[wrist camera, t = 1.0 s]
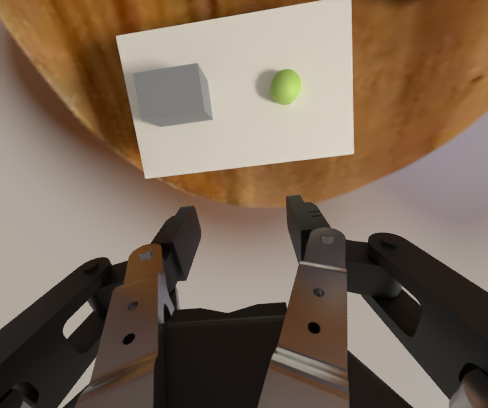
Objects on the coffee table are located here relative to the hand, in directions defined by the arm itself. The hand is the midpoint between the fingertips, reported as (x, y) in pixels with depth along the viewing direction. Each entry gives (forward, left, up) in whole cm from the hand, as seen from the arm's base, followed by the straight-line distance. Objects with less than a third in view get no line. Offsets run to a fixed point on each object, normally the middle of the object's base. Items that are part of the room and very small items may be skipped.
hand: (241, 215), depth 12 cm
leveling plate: (-6, 0, -16) cm, 18 cm away
